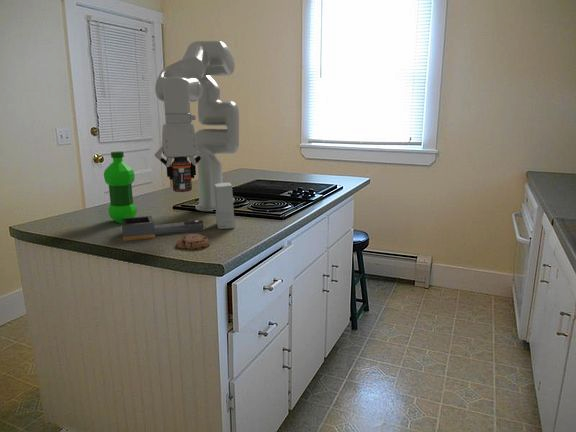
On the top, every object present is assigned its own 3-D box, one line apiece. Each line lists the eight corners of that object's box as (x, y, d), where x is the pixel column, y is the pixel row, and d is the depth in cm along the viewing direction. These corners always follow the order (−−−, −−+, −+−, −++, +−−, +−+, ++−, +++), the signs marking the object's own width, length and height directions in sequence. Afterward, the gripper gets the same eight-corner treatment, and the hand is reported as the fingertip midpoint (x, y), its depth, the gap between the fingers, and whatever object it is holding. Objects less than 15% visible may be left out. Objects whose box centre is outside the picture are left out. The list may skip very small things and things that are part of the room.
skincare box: (235, 228, 158) (233, 185, 154) (217, 229, 156) (215, 186, 153) (232, 222, 166) (230, 181, 162) (215, 223, 164) (213, 182, 161)
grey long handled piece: (200, 225, 162) (199, 211, 160) (205, 232, 153) (204, 218, 152) (122, 232, 153) (121, 218, 152) (123, 241, 144) (121, 225, 143)
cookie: (199, 252, 134) (199, 243, 133) (169, 248, 138) (168, 239, 137) (217, 243, 143) (216, 233, 142) (188, 239, 147) (187, 230, 146)
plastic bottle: (124, 216, 175) (118, 149, 168) (144, 219, 169) (138, 151, 163) (102, 222, 166) (94, 152, 160) (122, 226, 161) (115, 154, 155)
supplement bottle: (187, 193, 142) (185, 156, 139) (169, 192, 143) (166, 155, 140) (195, 189, 147) (193, 153, 144) (177, 188, 148) (175, 153, 146)
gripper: (204, 118, 146) (206, 174, 150) (147, 119, 140) (152, 178, 144) (208, 119, 139) (211, 178, 144) (149, 121, 133) (154, 182, 138)
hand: (181, 177), depth 144 cm, fingers closed on supplement bottle, 6 cm apart
